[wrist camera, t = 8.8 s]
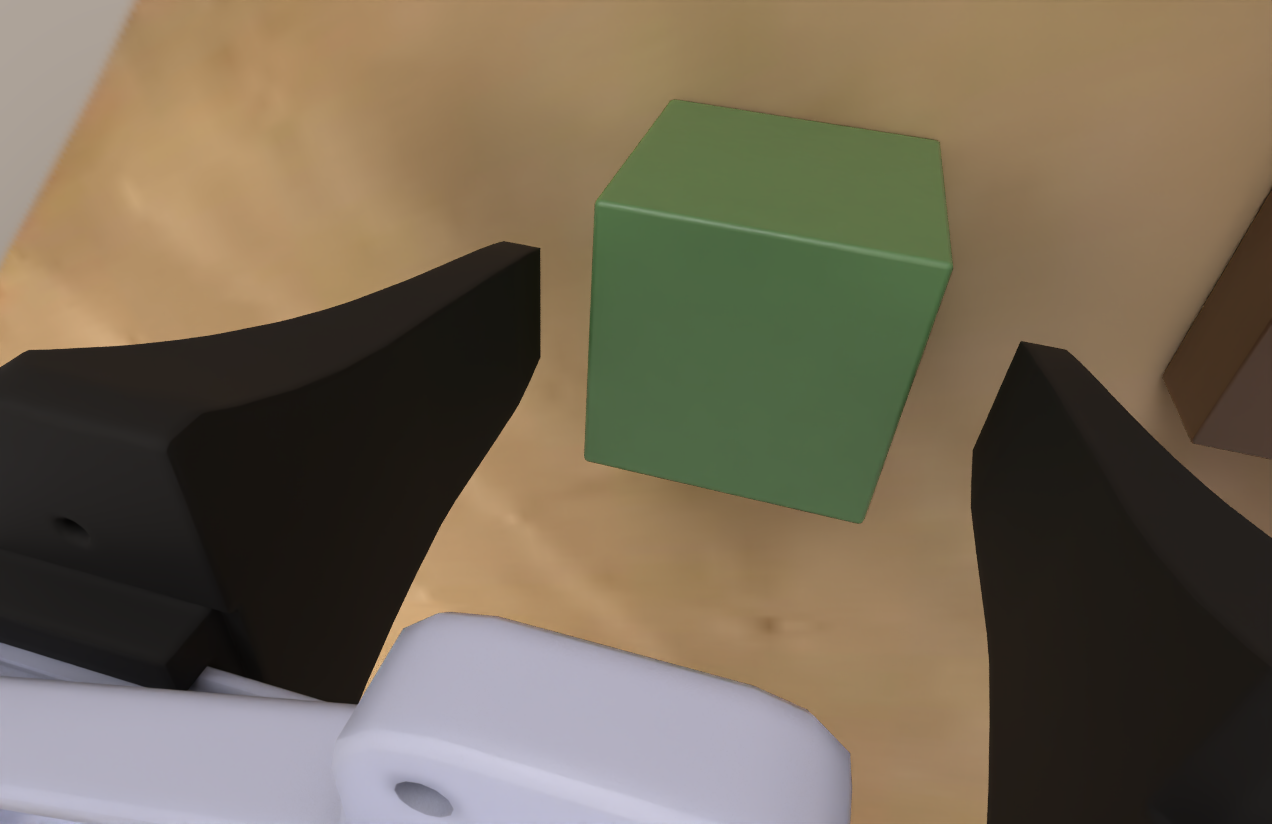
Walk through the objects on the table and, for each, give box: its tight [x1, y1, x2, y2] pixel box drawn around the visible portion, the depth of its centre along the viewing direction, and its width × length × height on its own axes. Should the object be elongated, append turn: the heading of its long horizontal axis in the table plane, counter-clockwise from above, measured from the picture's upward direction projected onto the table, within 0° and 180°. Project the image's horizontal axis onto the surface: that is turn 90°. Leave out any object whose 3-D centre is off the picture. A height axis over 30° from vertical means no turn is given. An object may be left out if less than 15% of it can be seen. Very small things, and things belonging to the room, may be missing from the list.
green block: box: [584, 100, 953, 524], centre depth 13 cm, size 5×5×5 cm
